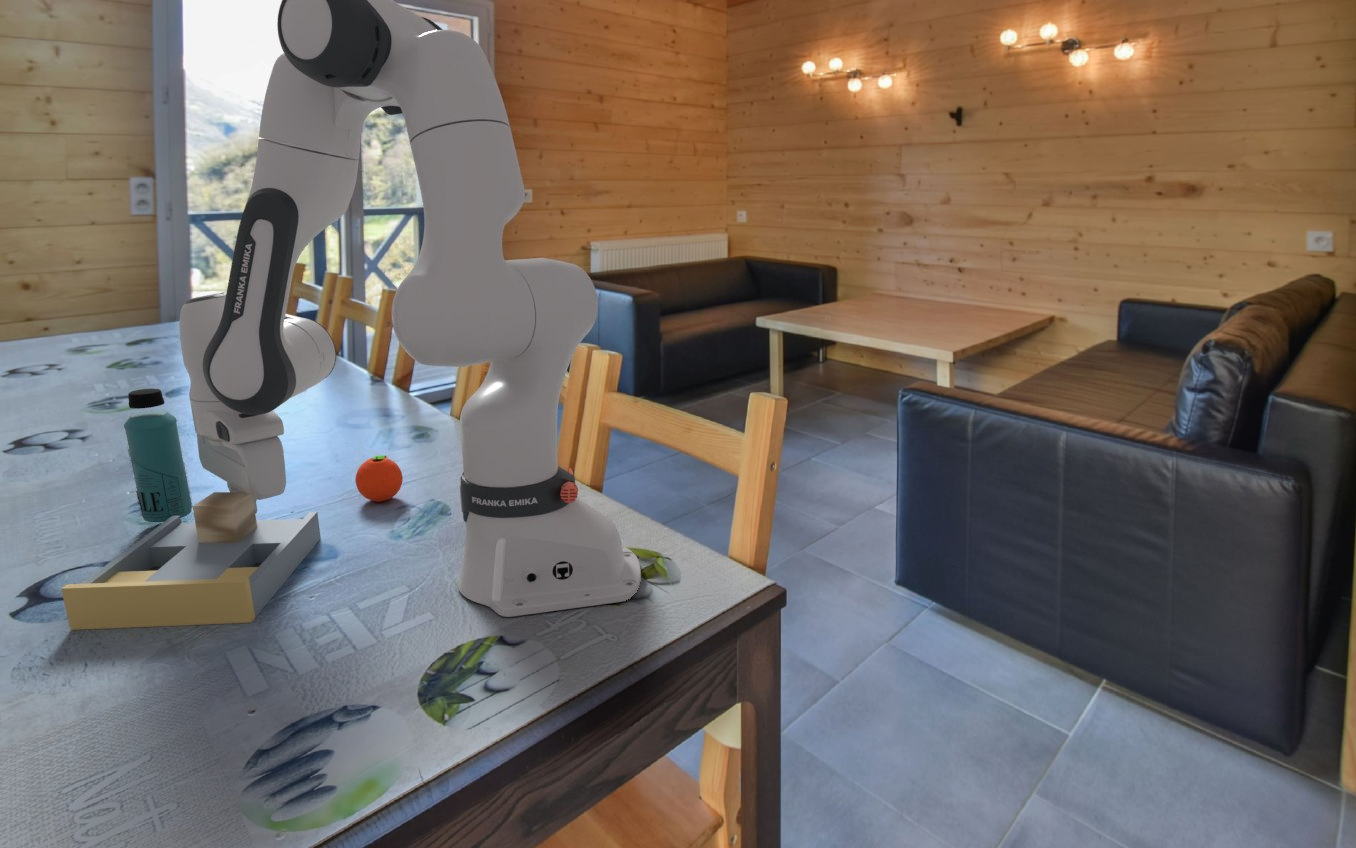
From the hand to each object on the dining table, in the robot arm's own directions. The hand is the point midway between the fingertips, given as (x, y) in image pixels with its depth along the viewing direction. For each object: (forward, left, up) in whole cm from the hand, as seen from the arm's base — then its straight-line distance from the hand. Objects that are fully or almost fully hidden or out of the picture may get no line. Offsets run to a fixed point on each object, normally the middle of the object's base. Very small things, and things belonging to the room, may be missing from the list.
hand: (246, 512), depth 110 cm
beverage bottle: (+14, -7, -4) cm, 16 cm away
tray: (0, +11, -4) cm, 12 cm away
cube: (0, +5, -1) cm, 5 cm away
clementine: (-14, -15, -4) cm, 21 cm away
